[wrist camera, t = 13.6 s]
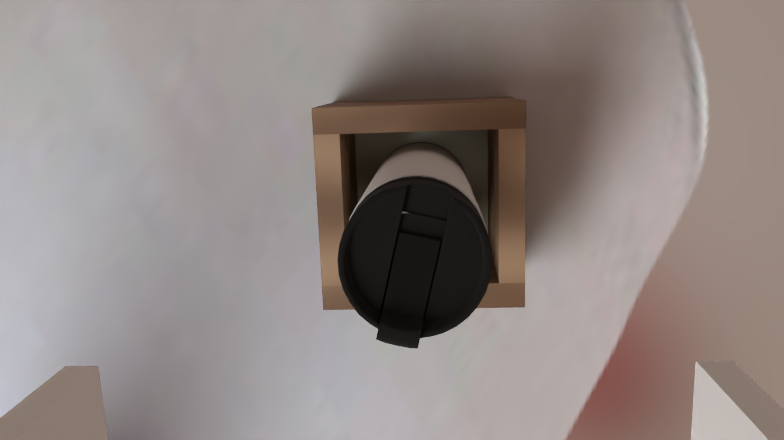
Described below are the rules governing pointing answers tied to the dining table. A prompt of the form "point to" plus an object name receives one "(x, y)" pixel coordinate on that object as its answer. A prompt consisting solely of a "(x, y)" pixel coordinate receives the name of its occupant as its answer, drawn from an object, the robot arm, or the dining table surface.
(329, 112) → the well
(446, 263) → the travel mug
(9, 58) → the dining table surface
